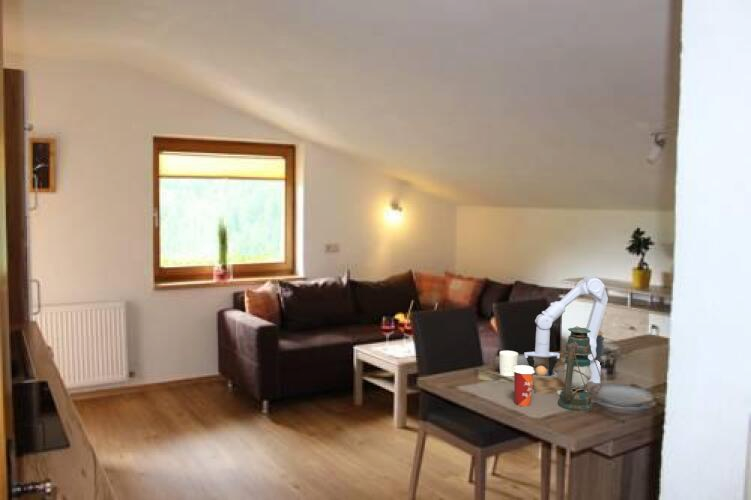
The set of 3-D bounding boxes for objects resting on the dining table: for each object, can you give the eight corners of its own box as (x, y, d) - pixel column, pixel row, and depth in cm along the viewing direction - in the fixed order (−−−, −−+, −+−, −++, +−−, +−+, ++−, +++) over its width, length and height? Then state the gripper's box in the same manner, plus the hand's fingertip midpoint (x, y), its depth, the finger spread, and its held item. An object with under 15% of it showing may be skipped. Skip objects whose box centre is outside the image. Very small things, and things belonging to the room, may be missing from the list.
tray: (559, 383, 275) (559, 377, 275) (570, 394, 261) (570, 388, 261) (525, 383, 274) (525, 377, 274) (534, 393, 260) (535, 387, 260)
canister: (606, 361, 311) (608, 324, 309) (599, 367, 300) (601, 329, 298) (578, 356, 317) (580, 320, 316) (570, 362, 307) (572, 325, 305)
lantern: (568, 395, 259) (572, 320, 256) (605, 404, 250) (610, 325, 247) (548, 408, 244) (552, 328, 240) (586, 417, 235) (591, 334, 232)
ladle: (585, 392, 264) (586, 388, 264) (590, 395, 260) (591, 391, 260) (555, 392, 262) (555, 389, 262) (559, 395, 258) (559, 392, 258)
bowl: (551, 374, 287) (551, 368, 287) (560, 383, 275) (560, 376, 274) (522, 374, 287) (522, 368, 286) (529, 383, 274) (530, 376, 274)
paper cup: (528, 409, 243) (530, 371, 241) (508, 404, 247) (510, 368, 245) (535, 403, 249) (537, 366, 248) (516, 399, 254) (517, 363, 252)
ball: (544, 375, 283) (545, 364, 282) (548, 378, 278) (548, 367, 278) (533, 375, 283) (534, 364, 282) (536, 378, 278) (537, 367, 278)
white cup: (517, 379, 279) (518, 355, 278) (498, 377, 281) (499, 354, 280) (517, 373, 287) (518, 351, 286) (498, 372, 289) (499, 350, 288)
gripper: (556, 340, 283) (555, 371, 285) (522, 340, 283) (521, 371, 284) (561, 344, 276) (560, 376, 278) (527, 344, 276) (525, 376, 277)
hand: (540, 374), depth 280 cm, fingers open, 7 cm apart
